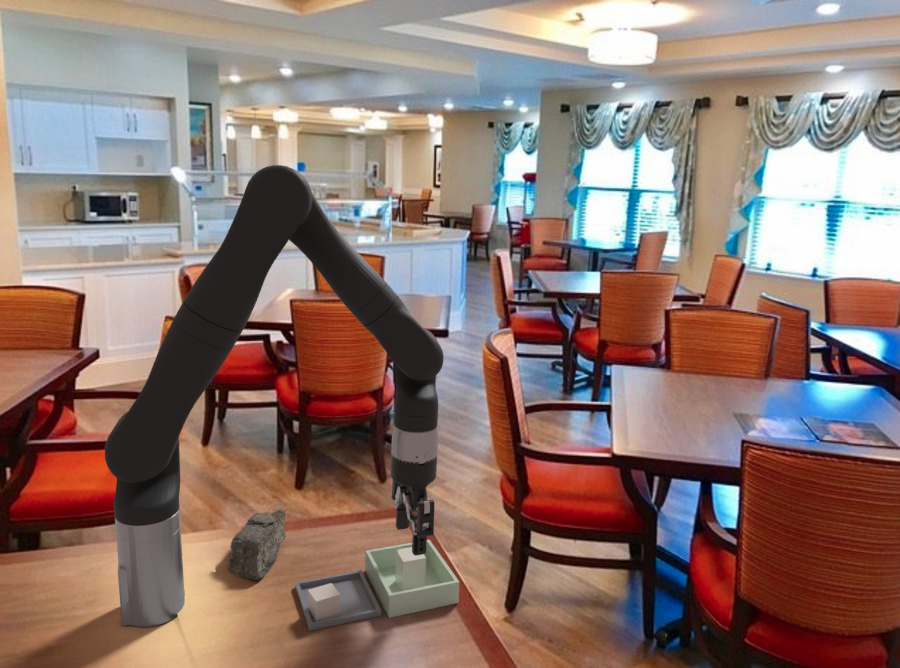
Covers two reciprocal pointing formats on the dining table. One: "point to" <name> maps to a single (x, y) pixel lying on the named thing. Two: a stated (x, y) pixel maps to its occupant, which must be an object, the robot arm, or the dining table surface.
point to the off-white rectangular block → (409, 569)
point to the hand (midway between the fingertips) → (410, 540)
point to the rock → (257, 545)
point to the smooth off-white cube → (324, 602)
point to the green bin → (396, 602)
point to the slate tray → (341, 598)
